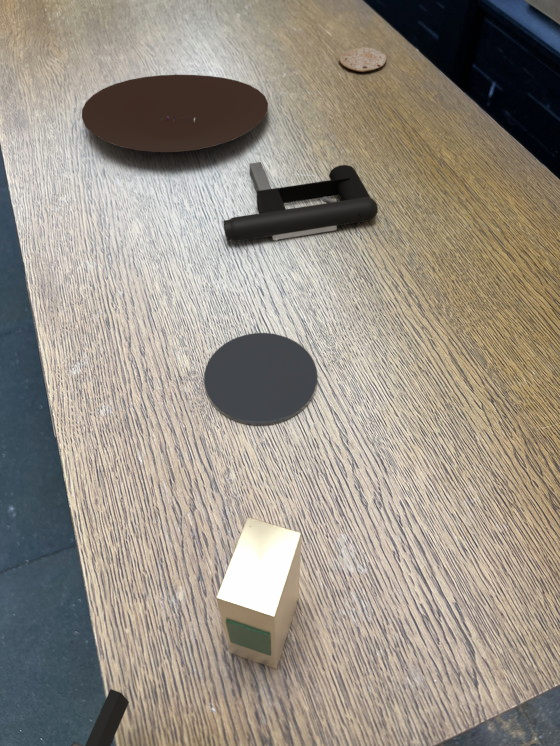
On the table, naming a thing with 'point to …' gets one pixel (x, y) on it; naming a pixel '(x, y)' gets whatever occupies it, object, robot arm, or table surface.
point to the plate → (174, 112)
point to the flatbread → (362, 59)
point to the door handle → (303, 219)
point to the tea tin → (261, 591)
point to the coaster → (260, 379)
